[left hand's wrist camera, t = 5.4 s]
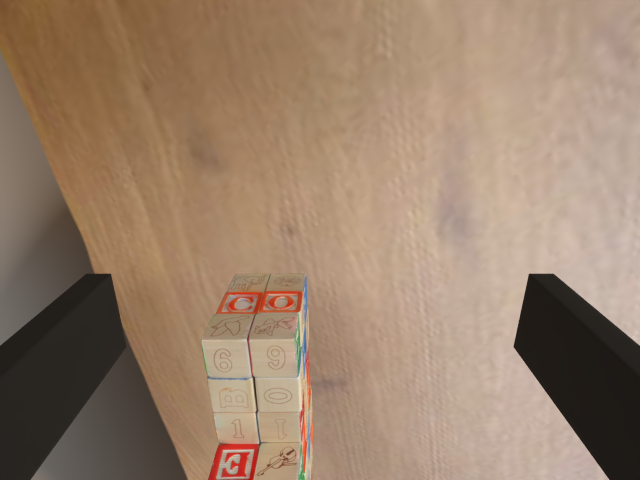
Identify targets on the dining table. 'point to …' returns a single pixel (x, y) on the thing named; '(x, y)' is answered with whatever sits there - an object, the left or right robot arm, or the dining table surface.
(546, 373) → the left robot arm
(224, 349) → the stack of blocks
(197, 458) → the dining table surface
